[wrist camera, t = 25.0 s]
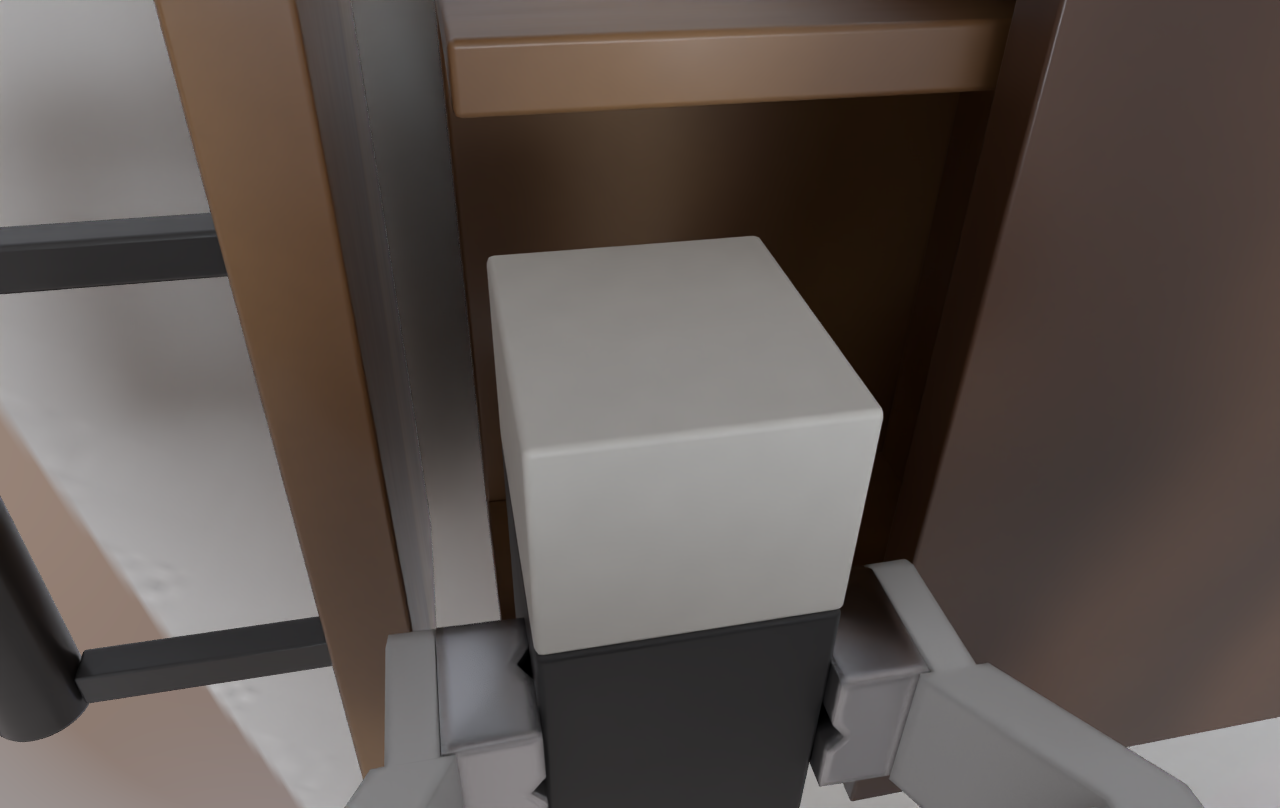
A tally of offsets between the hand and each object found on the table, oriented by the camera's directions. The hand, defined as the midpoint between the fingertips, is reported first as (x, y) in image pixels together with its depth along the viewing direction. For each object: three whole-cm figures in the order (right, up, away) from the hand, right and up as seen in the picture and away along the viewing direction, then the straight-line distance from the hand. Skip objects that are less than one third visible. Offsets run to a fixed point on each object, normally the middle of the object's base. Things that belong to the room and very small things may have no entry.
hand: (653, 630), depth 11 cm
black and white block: (0, +1, +1) cm, 2 cm away
